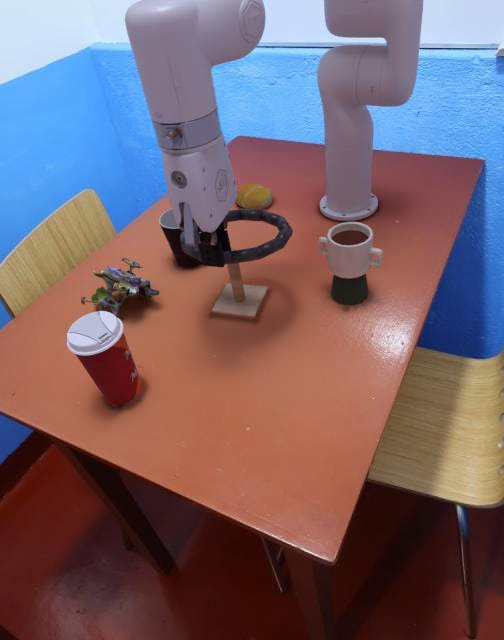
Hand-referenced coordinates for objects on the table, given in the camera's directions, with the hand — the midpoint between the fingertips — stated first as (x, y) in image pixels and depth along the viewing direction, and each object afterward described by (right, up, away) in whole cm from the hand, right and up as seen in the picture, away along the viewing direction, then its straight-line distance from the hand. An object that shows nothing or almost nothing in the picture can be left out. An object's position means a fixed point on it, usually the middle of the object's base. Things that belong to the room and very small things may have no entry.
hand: (217, 259), depth 66 cm
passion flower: (-19, -7, +22) cm, 30 cm away
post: (+3, -6, +19) cm, 20 cm away
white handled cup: (+22, -5, +16) cm, 27 cm away
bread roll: (+5, +19, +45) cm, 49 cm away
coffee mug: (-7, +5, +32) cm, 33 cm away
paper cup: (-15, -20, +7) cm, 26 cm away
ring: (+2, +4, +5) cm, 7 cm away
